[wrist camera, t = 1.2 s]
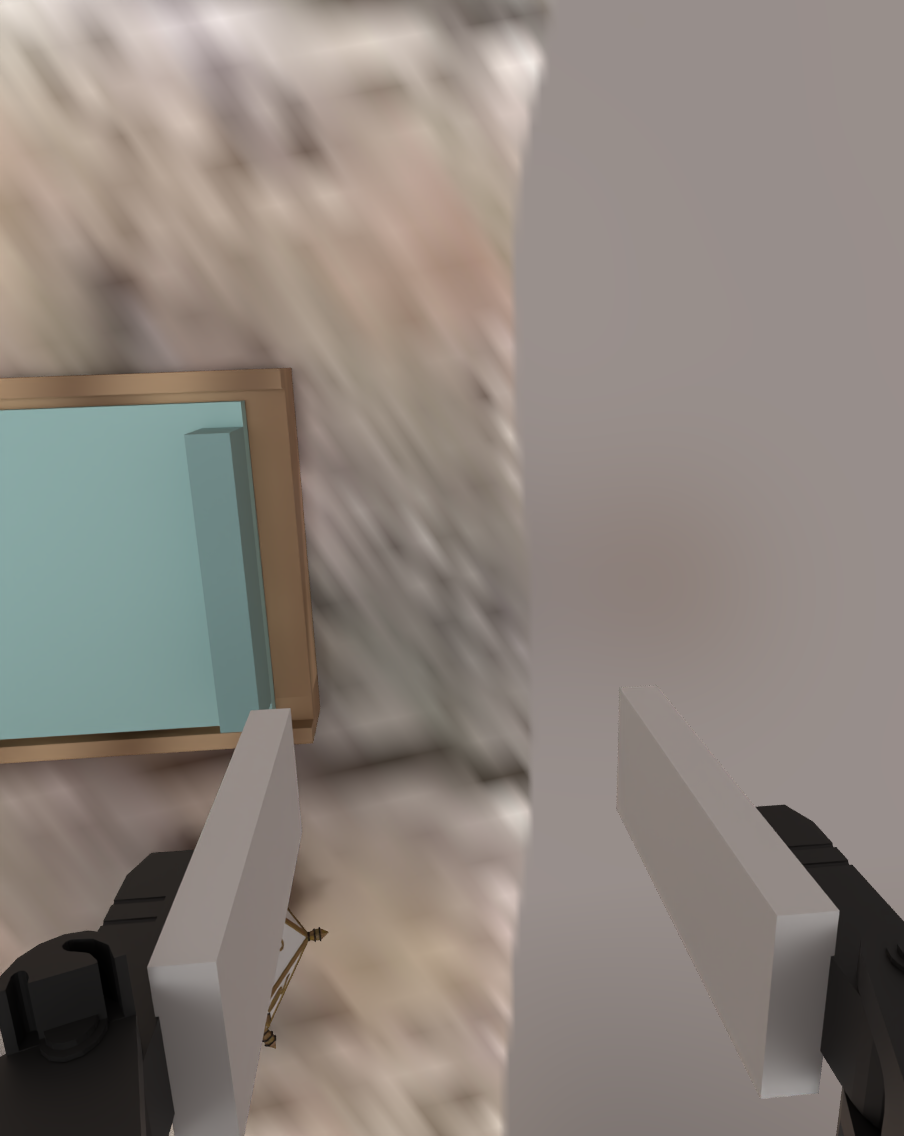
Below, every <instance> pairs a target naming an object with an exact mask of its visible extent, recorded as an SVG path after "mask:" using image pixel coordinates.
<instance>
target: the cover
mask: <svg viewBox="0 0 904 1136" xmlns="http://www.w3.org/2000/svg"><path fill="white" fill-rule="evenodd" d="M267 709H276V705H275V696H274V686H273V676H272V666H271V656H270V646H269V636H268V627H267V617H266V607H265V597H264V587H263V577H262V567H261V557H260V548H259V538H258V528H257V518H256V508H255V498H254V488H253V479H252V469H251V459H250V449H249V439H248V429H247V419H246V409H245V400H243V401H217V402H190V403H164V404H137V405H111V406H84V407H58V408H31V409H5V410H0V740H3V739H18V738H34V737H50V736H66V735H81V734H97V733H113V732H129V731H145V730H160V729H176V728H192V727H208V726H220V732H221V733H230V732H242V731H243V728H244V726H245V723H246V721H247V718H248V716H249V713H250V711H251V710H267Z"/></svg>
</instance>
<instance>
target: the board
mask: <svg viewBox="0 0 904 1136" xmlns="http://www.w3.org/2000/svg"><path fill="white" fill-rule="evenodd" d="M243 400H245V409H246V418H247V424H248V434H249V444H250V454H251V464H252V474H253V484H254V493H255V503H256V513H257V523H258V533H259V543H260V553H261V563H262V573H263V582H264V592H265V602H266V612H267V622H268V632H269V642H270V652H271V661H272V671H273V675H272V676H273V686H274V696H275V705H276V709H283V708H290V709H291V719H292V730H293V740H294V744H308V743H313V741H314V736H315V731H316V726H317V722H318V717H319V712H320V701H319V689H318V677H317V665H316V653H315V642H314V630H313V618H312V606H311V595H310V583H309V571H308V559H307V548H306V536H305V524H304V512H303V501H302V489H301V477H300V465H299V454H298V442H297V430H296V418H295V407H294V395H293V383H292V371H291V368H274V369H246V370H217V371H189V372H161V373H132V374H104V375H76V376H47V377H19V378H0V410H5V409H31V408H58V407H84V406H111V405H137V404H164V403H190V402H217V401H243ZM241 733H242V732H230V733H221V732H220V726H208V727H192V728H176V729H160V730H145V731H129V732H113V733H97V734H81V735H66V736H50V737H34V738H18V739H3V740H0V764H2V763H17V762H32V761H48V760H63V759H78V758H94V757H109V756H124V755H140V754H155V753H170V752H186V751H201V750H216V749H232V748H236V746H237V743H238V741H239V738H240V736H241Z"/></svg>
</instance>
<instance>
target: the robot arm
mask: <svg viewBox="0 0 904 1136" xmlns="http://www.w3.org/2000/svg"><path fill="white" fill-rule="evenodd" d="M618 731H619V732H618V766H617V807H616V809H617V811H618V813H619V815H620V817H621V819H622V821H623V823H624V825H625V827H626V829H627V831H628V833H629V835H630V837H631V839H632V841H633V843H634V845H635V847H636V849H637V851H638V853H639V855H640V857H641V859H642V861H643V863H644V865H645V867H646V869H647V871H648V873H649V875H650V877H651V879H652V881H653V883H654V885H655V887H656V890H657V892H658V894H659V896H660V898H661V899H662V902H663V903H664V906H665V908H666V909H667V912H668V913H669V915H670V918H671V920H672V922H673V924H674V926H675V928H676V930H677V932H678V934H679V936H680V938H681V940H682V942H683V944H684V946H685V948H686V950H687V952H688V954H689V956H690V958H691V960H692V962H693V964H694V966H695V968H696V970H697V972H698V974H699V976H700V978H701V979H702V982H703V984H704V986H705V988H706V990H707V992H708V994H709V996H710V998H711V1000H712V1002H713V1004H714V1006H715V1008H716V1010H717V1012H718V1014H719V1016H720V1018H721V1020H722V1022H723V1024H724V1026H725V1028H726V1030H727V1032H728V1034H729V1036H730V1038H731V1040H732V1042H733V1044H734V1046H735V1048H736V1050H737V1052H738V1054H739V1056H740V1058H741V1060H742V1062H743V1064H744V1066H745V1068H746V1070H747V1072H748V1074H749V1076H750V1078H751V1081H752V1083H753V1085H754V1087H755V1088H756V1091H757V1092H758V1095H759V1097H760V1098H761V1099H763V1098H774V1097H784V1096H795V1095H804V1094H815V1093H819V1085H820V1076H821V1067H822V1059H823V1056H824V1058H825V1059H826V1061H827V1063H828V1064H829V1066H830V1068H831V1069H832V1071H833V1072H834V1074H835V1076H836V1077H837V1079H838V1080H839V1082H840V1083H841V1085H842V1094H841V1101H840V1109H839V1117H838V1125H837V1134H836V1136H904V921H903V920H902V919H901V918H900V917H899V916H898V915H897V913H895V911H894V910H893V909H892V908H891V907H890V906H889V905H888V904H887V903H886V901H885V900H884V899H883V898H882V897H881V896H880V895H879V894H878V893H877V892H876V890H875V889H874V888H873V887H872V886H871V885H870V884H869V883H868V882H867V880H866V879H865V878H864V877H863V876H862V875H861V874H860V873H859V872H858V871H857V869H856V868H855V867H854V866H853V865H849V863H848V860H847V859H846V858H845V856H844V855H843V854H842V853H841V852H840V851H839V850H838V849H837V847H833V845H832V842H831V841H830V840H829V839H828V838H827V837H826V835H825V834H824V833H823V832H822V831H821V830H820V829H819V828H818V827H817V826H816V824H815V823H814V822H813V821H811V820H809V819H807V818H806V817H804V816H803V815H801V814H799V813H798V812H796V811H794V810H792V809H791V808H789V807H788V806H786V805H774V806H760V807H755V806H754V805H753V803H752V802H751V801H750V800H749V798H748V797H747V796H746V795H745V794H744V792H743V791H742V790H741V789H740V787H739V786H738V785H737V784H736V783H735V781H734V780H733V779H732V777H731V776H730V775H729V774H728V773H727V771H726V770H725V769H724V768H723V766H722V765H721V764H720V763H719V762H718V760H717V759H716V758H715V756H714V755H713V754H712V753H711V752H710V751H709V749H708V748H707V747H706V745H705V744H704V743H703V742H702V741H701V739H700V738H699V737H698V736H697V734H696V733H695V732H694V731H693V729H692V728H691V727H690V726H689V724H688V723H687V722H686V721H685V719H684V718H683V717H682V716H681V715H680V713H679V712H678V711H677V710H676V708H675V707H674V706H673V705H672V703H671V702H670V701H669V700H668V698H667V697H666V696H665V695H664V693H663V692H662V691H661V690H660V689H659V687H658V686H657V685H653V686H637V687H623V688H622V687H621V688H619V728H618ZM301 835H302V824H301V813H300V803H299V793H298V782H297V772H296V761H295V751H294V740H293V730H292V719H291V709H290V708H283V709H267V710H251V711H250V713H249V716H248V718H247V721H246V723H245V726H244V728H243V731H242V733H241V736H240V738H239V741H238V743H237V746H236V748H235V751H234V753H233V756H232V758H231V761H230V763H229V766H228V768H227V770H226V773H225V775H224V778H223V780H222V783H221V785H220V788H219V790H218V793H217V795H216V798H215V800H214V803H213V805H212V808H211V810H210V813H209V815H208V818H207V820H206V823H205V825H204V828H203V830H202V832H201V835H200V837H199V840H198V842H197V845H196V847H195V850H186V851H172V852H158V853H151V854H150V855H149V856H148V857H146V858H145V859H144V860H143V861H142V862H141V863H140V864H139V865H138V866H137V867H135V868H134V869H133V870H132V871H131V872H130V873H129V874H128V875H127V876H126V878H125V880H124V882H123V884H122V886H121V888H120V890H119V891H118V893H117V895H116V897H115V899H114V905H111V907H110V909H109V911H108V913H107V915H106V917H105V919H104V923H103V926H100V928H99V930H98V932H95V931H82V932H76V933H70V934H64V935H62V936H59V937H56V938H54V939H51V940H49V941H46V942H44V943H41V944H39V945H37V946H36V947H34V948H33V949H31V950H30V951H28V952H27V953H25V954H23V955H22V956H20V957H19V958H17V959H16V960H15V961H14V962H13V964H12V965H11V966H10V967H9V968H8V969H7V970H6V971H5V972H4V973H3V974H2V975H1V976H0V1029H1V1034H2V1038H3V1042H4V1047H5V1051H6V1054H5V1055H3V1056H1V1057H0V1136H169V1132H170V1129H171V1125H172V1122H173V1129H174V1135H175V1136H244V1134H245V1128H246V1123H247V1118H248V1113H249V1108H250V1102H251V1097H252V1092H253V1087H254V1081H255V1076H256V1071H257V1066H258V1060H259V1055H260V1050H261V1045H262V1039H263V1034H264V1029H265V1024H266V1019H267V1013H268V1008H269V1003H270V998H271V992H272V987H273V982H274V977H275V971H276V966H277V961H278V956H279V951H280V945H281V940H282V935H283V930H284V924H285V919H286V914H287V909H288V903H289V898H290V893H291V888H292V883H293V877H294V872H295V867H296V862H297V856H298V851H299V846H300V841H301Z"/></svg>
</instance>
